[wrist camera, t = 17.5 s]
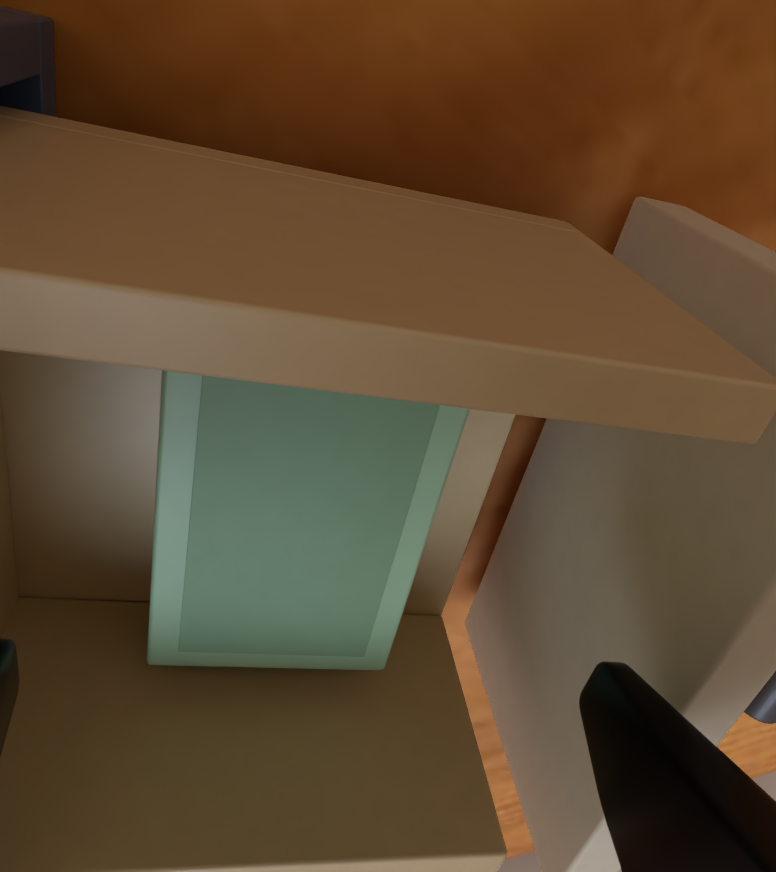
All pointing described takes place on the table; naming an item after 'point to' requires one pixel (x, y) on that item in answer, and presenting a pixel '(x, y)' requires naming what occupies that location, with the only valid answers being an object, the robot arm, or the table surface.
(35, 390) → the drawer
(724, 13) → the table surface
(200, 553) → the green rectangular block
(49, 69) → the cabinet
